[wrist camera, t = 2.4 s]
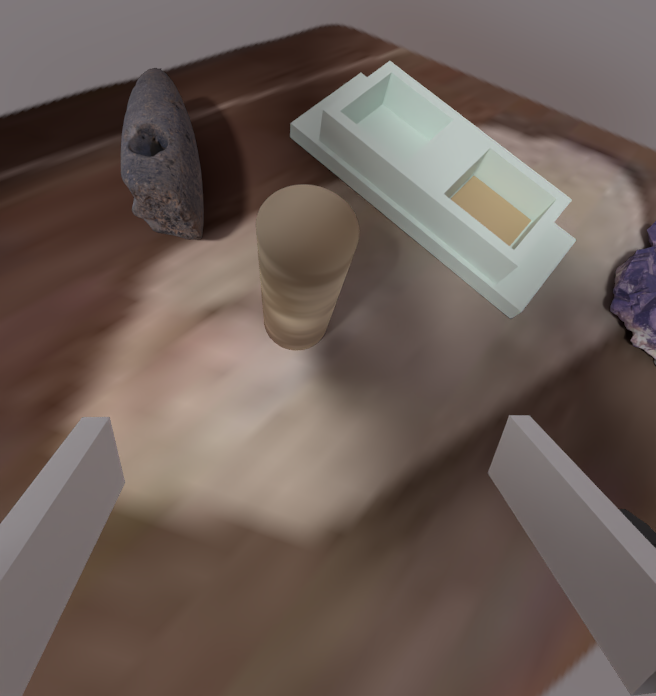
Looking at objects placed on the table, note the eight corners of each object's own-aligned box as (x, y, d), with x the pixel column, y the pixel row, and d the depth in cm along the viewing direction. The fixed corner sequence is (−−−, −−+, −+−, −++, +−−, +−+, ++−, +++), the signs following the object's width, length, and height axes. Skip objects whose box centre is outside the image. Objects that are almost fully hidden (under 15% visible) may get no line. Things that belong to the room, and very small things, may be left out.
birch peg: (250, 320, 29) (233, 224, 17) (294, 279, 30) (305, 167, 19) (297, 363, 28) (311, 293, 17) (340, 319, 30) (379, 229, 18)
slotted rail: (289, 137, 35) (291, 91, 30) (357, 87, 38) (368, 39, 33) (510, 319, 32) (546, 296, 27) (564, 249, 35) (604, 218, 31)
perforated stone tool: (142, 114, 33) (108, 28, 27) (202, 114, 34) (185, 31, 28) (143, 261, 29) (104, 201, 22) (212, 257, 30) (194, 198, 23)
